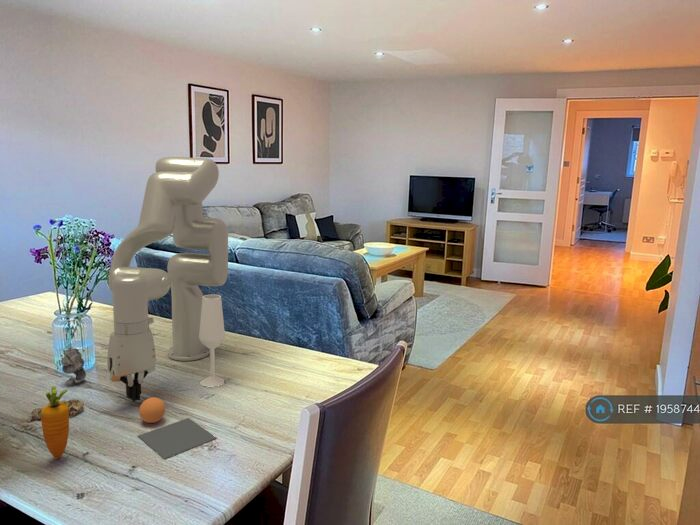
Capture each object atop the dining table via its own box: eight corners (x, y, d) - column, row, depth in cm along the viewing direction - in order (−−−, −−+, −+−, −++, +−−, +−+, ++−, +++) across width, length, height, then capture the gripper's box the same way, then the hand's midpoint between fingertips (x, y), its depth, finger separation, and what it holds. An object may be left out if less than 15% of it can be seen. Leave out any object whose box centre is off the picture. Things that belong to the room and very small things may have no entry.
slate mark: (188, 418, 120) (188, 417, 120) (216, 438, 112) (216, 437, 112) (137, 436, 111) (137, 435, 111) (164, 459, 103) (164, 458, 103)
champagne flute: (230, 382, 140) (230, 297, 136) (208, 389, 135) (207, 301, 131) (216, 375, 144) (215, 292, 140) (194, 381, 140) (193, 296, 135)
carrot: (51, 452, 104) (46, 382, 101) (76, 452, 104) (72, 382, 101) (38, 466, 99) (33, 393, 96) (65, 466, 99) (60, 393, 97)
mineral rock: (82, 393, 126) (83, 397, 119) (84, 411, 126) (85, 416, 119) (31, 403, 120) (29, 408, 113) (33, 421, 120) (31, 428, 113)
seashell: (76, 388, 133) (74, 351, 131) (58, 385, 134) (56, 349, 132) (90, 380, 138) (88, 344, 136) (73, 377, 139) (71, 342, 137)
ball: (169, 422, 117) (158, 414, 121) (170, 399, 117) (159, 391, 121) (145, 429, 114) (135, 420, 118) (145, 405, 113) (135, 397, 117)
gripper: (154, 317, 130) (156, 385, 133) (92, 328, 119) (95, 402, 122) (168, 324, 125) (170, 395, 128) (105, 336, 114) (108, 414, 117)
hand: (134, 398), depth 125 cm, fingers closed
